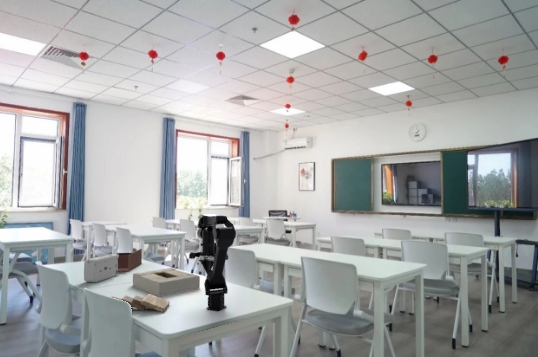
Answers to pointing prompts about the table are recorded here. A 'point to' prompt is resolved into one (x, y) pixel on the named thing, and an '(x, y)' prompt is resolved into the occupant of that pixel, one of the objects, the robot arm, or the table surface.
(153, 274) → the box
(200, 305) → the table surface
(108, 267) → the stereo radio cassette player
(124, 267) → the desk organizer
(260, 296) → the table surface
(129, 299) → the domino
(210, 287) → the robot arm
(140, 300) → the domino
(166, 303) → the square wooden board
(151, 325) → the table surface
